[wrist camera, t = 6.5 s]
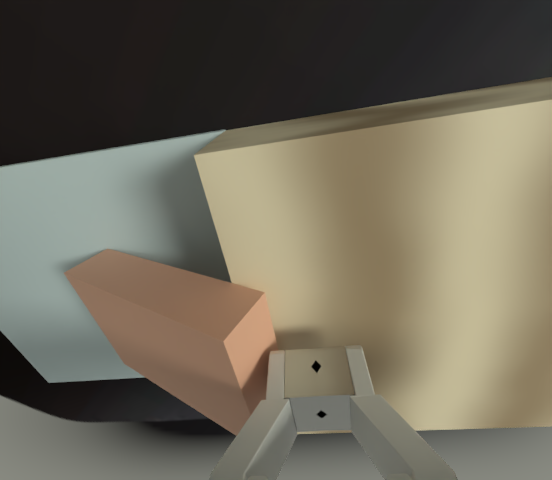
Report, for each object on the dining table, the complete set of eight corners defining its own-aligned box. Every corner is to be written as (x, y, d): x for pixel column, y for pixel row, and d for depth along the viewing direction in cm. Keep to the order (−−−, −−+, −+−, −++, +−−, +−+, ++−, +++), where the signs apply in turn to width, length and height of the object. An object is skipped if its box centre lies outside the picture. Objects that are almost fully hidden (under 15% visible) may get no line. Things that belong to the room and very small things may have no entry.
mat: (225, 129, 11) (222, 130, 10) (279, 363, 17) (279, 369, 17) (-119, 185, 12) (-130, 188, 12) (52, 377, 19) (48, 382, 19)
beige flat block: (958, 10, 8) (1465, -43, 5) (684, 340, 15) (803, 419, 11) (225, 130, 11) (193, 155, 7) (279, 364, 17) (276, 434, 14)
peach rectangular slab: (264, 292, 8) (223, 341, 7) (290, 403, 11) (264, 453, 10) (107, 248, 13) (63, 272, 12) (154, 335, 16) (124, 363, 15)
